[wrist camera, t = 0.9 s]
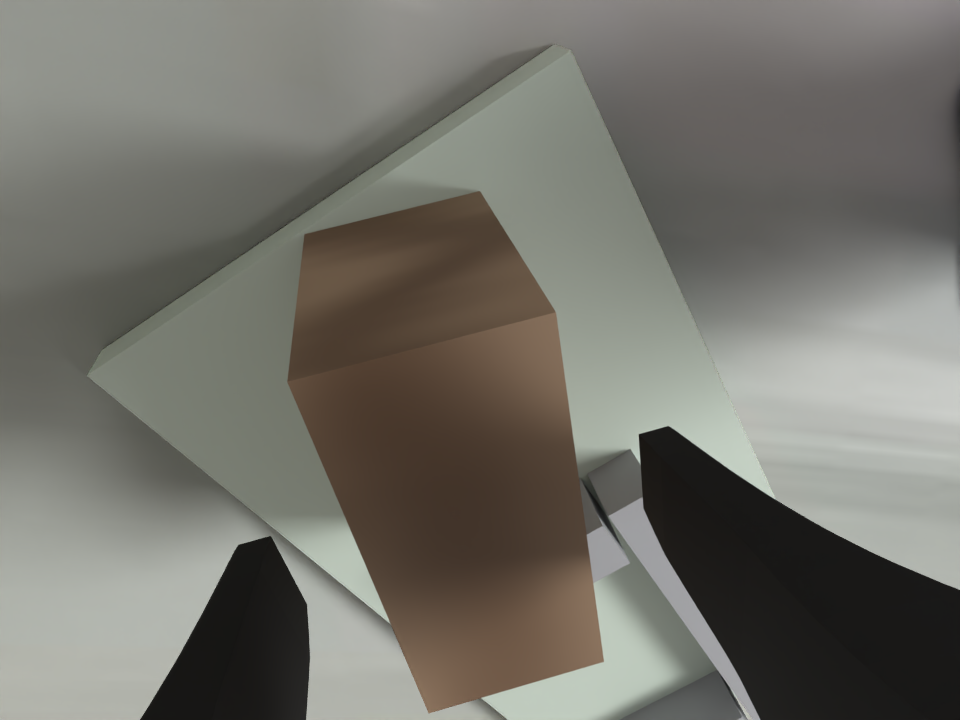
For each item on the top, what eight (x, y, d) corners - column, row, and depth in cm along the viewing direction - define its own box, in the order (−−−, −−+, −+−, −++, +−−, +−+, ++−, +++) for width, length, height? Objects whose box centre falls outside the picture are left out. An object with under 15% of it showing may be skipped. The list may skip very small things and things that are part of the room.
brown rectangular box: (479, 190, 15) (555, 312, 10) (534, 480, 19) (604, 661, 14) (303, 234, 14) (285, 382, 9) (403, 516, 19) (428, 713, 14)
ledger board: (554, 43, 14) (605, 62, 12) (824, 620, 29) (874, 688, 26) (101, 349, 16) (55, 427, 13) (569, 749, 30) (592, 826, 28)
